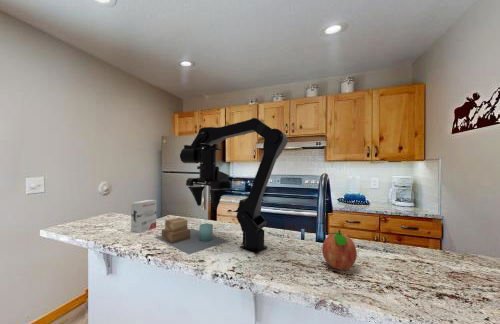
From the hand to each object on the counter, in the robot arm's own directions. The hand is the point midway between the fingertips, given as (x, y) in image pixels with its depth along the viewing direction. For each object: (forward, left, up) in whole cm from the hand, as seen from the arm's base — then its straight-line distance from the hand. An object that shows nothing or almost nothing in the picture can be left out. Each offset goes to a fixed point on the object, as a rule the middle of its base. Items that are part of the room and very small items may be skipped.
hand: (207, 207), depth 78 cm
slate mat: (+4, +4, -12) cm, 13 cm away
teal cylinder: (0, 0, -11) cm, 11 cm away
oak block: (+8, +7, -8) cm, 13 cm away
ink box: (+27, +10, -12) cm, 31 cm away
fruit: (-42, -12, -12) cm, 45 cm away
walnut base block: (+8, +7, -11) cm, 16 cm away
